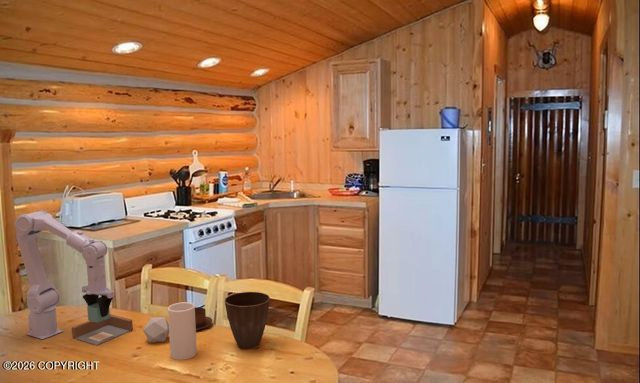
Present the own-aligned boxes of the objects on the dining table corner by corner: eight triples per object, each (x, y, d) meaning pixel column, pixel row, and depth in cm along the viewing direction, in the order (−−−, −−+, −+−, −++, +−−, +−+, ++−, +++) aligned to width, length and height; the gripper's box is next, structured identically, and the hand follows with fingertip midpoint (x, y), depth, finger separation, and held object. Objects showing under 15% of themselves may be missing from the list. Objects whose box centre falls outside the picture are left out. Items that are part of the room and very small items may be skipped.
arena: (72, 338, 181) (71, 327, 180) (109, 323, 194) (108, 313, 193) (96, 345, 174) (96, 334, 174) (132, 330, 187) (132, 319, 187)
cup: (201, 350, 169) (199, 303, 167) (187, 361, 162) (185, 312, 160) (180, 347, 172) (177, 301, 170) (165, 357, 164) (162, 309, 162)
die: (156, 349, 172) (172, 323, 174) (134, 335, 173) (151, 310, 175) (163, 348, 180) (178, 323, 182) (142, 335, 181) (158, 310, 183)
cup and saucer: (176, 324, 193) (175, 308, 192) (208, 318, 198) (207, 303, 197) (182, 335, 182) (181, 318, 181) (216, 329, 187) (215, 313, 186)
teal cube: (88, 320, 179) (87, 306, 178) (100, 315, 183) (99, 302, 183) (97, 322, 176) (96, 308, 176) (110, 318, 181) (109, 304, 180)
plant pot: (235, 334, 182) (234, 290, 180) (276, 337, 179) (275, 292, 177) (219, 352, 168) (217, 304, 166) (263, 355, 165) (261, 307, 163)
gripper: (72, 277, 178) (75, 314, 180) (100, 282, 171) (103, 322, 173) (90, 272, 184) (93, 308, 186) (118, 277, 177) (120, 315, 179)
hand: (99, 314), depth 180 cm, fingers closed on teal cube, 5 cm apart
